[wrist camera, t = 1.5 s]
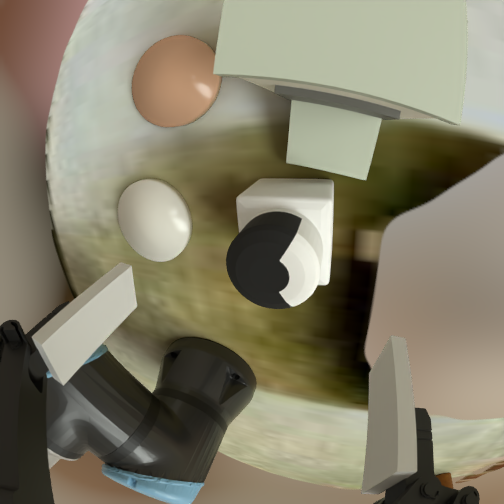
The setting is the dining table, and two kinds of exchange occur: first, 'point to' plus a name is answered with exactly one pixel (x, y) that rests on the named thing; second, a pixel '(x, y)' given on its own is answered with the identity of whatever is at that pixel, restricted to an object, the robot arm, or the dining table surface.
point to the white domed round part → (155, 219)
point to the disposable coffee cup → (445, 480)
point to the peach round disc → (175, 81)
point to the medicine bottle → (282, 240)
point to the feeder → (348, 68)
